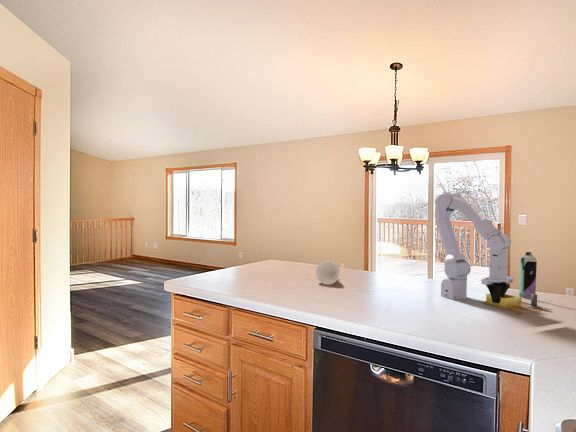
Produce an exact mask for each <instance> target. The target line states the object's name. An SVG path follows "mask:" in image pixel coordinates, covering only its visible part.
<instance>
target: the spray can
mask: <svg viewBox="0 0 576 432" xmlns="http://www.w3.org/2000/svg"><path fill="white" fill-rule="evenodd" d="M519 261H520V264H519V269H520V270H519V291H518V292H519V295H518V297H521V299H526V300H531V294H536V292H537V290H536V288H537V267H538V266H537V263H538V261H537V258H536V257H534V255H533V254H532V252H531V251H526V252H525V254H524V255H523V256H521V257H520V260H519ZM536 295H537V294H536Z"/></svg>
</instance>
